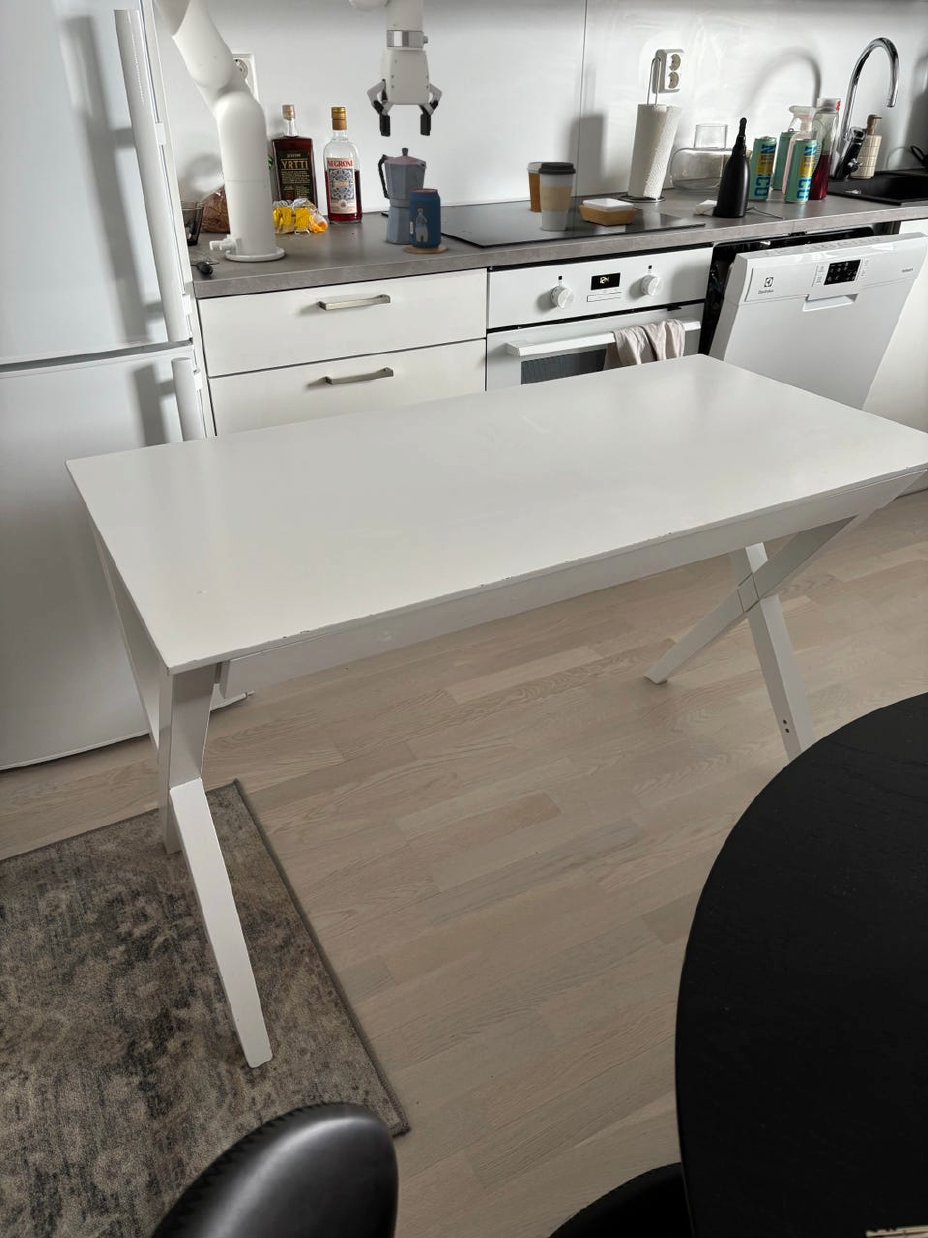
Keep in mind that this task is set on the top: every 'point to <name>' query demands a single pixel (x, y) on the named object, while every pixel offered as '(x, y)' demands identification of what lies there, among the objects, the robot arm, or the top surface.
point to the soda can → (425, 219)
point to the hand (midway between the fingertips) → (405, 135)
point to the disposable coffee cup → (534, 185)
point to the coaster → (438, 250)
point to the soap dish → (607, 211)
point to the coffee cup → (555, 194)
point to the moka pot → (400, 192)
